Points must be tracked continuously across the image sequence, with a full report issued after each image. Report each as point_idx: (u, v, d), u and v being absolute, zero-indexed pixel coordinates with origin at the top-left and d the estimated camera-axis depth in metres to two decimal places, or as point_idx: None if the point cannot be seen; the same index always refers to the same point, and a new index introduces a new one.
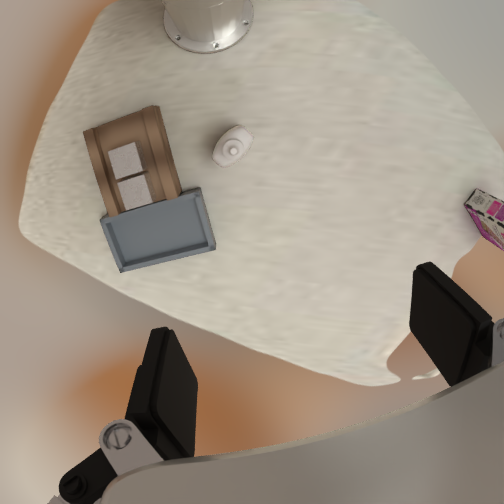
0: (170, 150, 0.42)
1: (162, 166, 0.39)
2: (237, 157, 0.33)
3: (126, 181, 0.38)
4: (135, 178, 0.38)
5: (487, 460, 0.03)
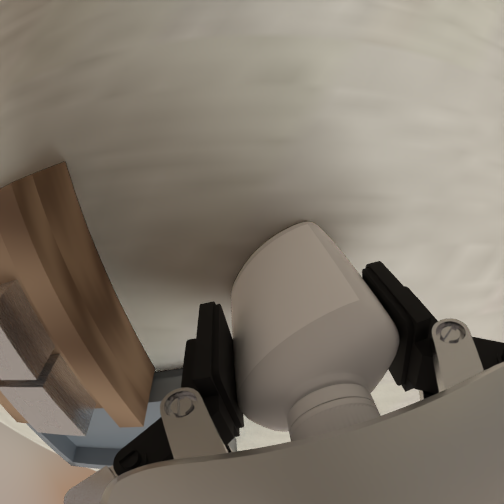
0: (109, 288, 0.15)
1: (84, 367, 0.12)
2: None
3: (12, 389, 0.11)
4: (28, 389, 0.11)
5: (487, 460, 0.03)
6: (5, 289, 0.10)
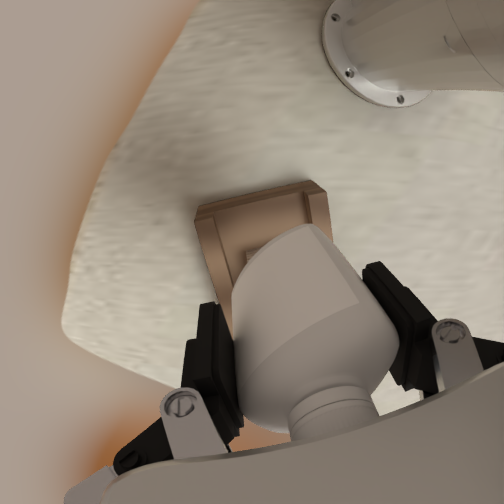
0: None
1: None
2: None
3: None
4: None
5: (487, 460, 0.03)
6: None
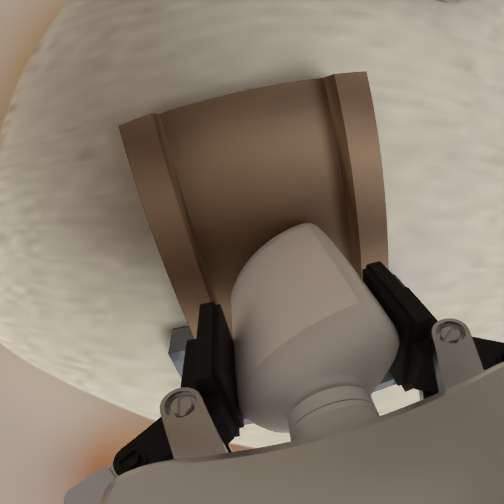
0: None
1: (373, 250, 0.14)
2: None
3: None
4: None
5: (487, 460, 0.03)
6: None
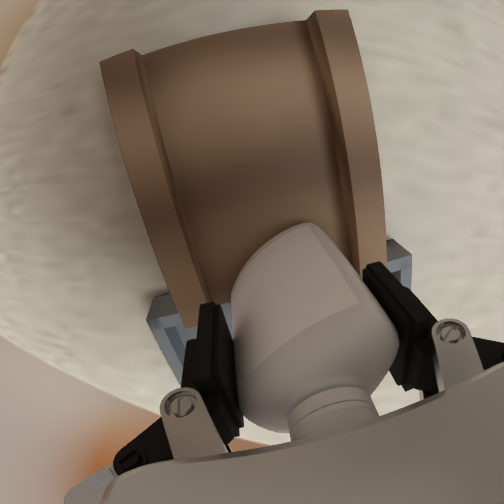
0: None
1: (367, 192, 0.13)
2: None
3: None
4: None
5: (487, 460, 0.03)
6: None
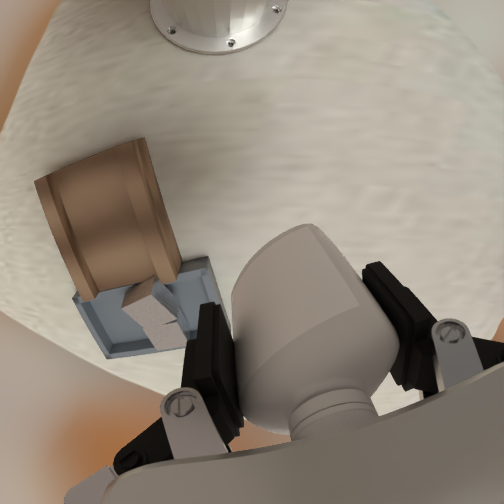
0: (163, 204, 0.29)
1: (151, 236, 0.26)
2: None
3: None
4: None
5: (487, 460, 0.03)
6: (152, 282, 0.28)
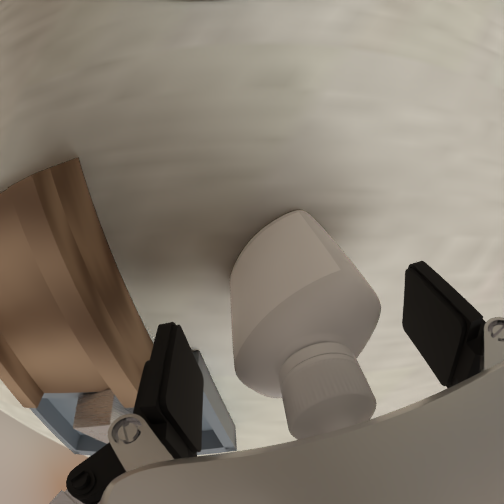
0: (118, 275, 0.16)
1: (94, 347, 0.13)
2: None
3: None
4: None
5: (487, 460, 0.03)
6: (111, 401, 0.15)
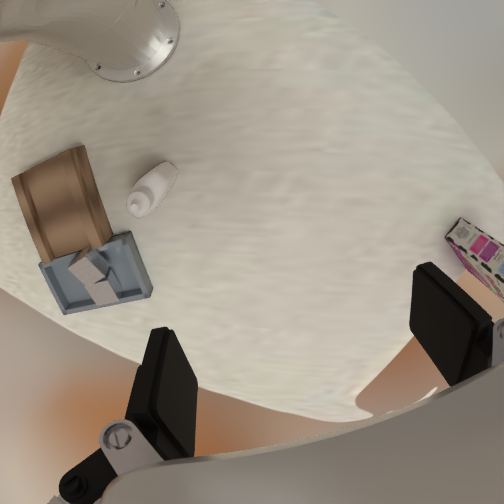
0: (97, 192, 0.37)
1: (84, 214, 0.34)
2: (142, 211, 0.29)
3: None
4: None
5: (487, 460, 0.03)
6: (87, 249, 0.37)
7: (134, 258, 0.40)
